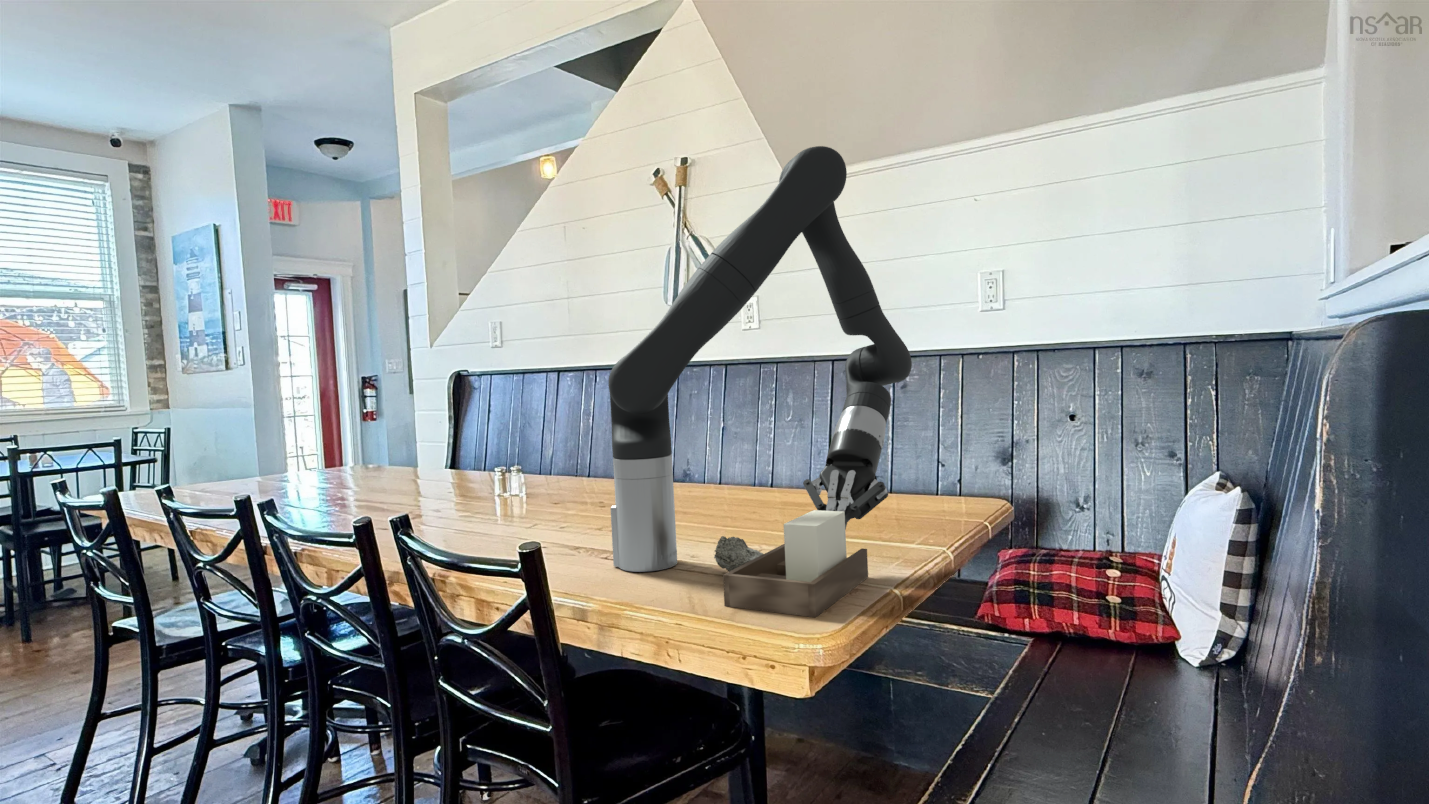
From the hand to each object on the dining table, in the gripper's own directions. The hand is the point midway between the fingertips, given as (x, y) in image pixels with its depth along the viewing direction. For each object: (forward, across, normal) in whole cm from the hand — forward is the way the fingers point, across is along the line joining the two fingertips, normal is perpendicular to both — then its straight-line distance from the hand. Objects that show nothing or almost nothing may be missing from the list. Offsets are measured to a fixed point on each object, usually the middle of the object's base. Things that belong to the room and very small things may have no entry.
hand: (831, 539), depth 107 cm
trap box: (+8, -2, 0) cm, 8 cm away
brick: (+7, 0, -1) cm, 7 cm away
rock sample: (+3, -14, +5) cm, 15 cm away
